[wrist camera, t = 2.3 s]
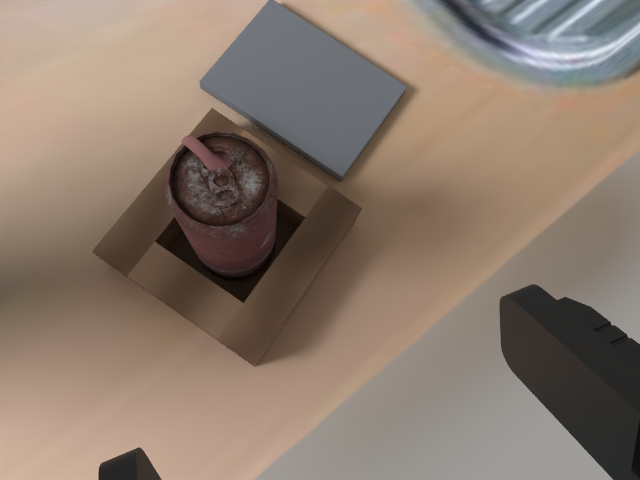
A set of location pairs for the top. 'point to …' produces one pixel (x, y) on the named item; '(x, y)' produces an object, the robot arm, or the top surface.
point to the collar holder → (204, 295)
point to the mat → (304, 88)
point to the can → (225, 202)
